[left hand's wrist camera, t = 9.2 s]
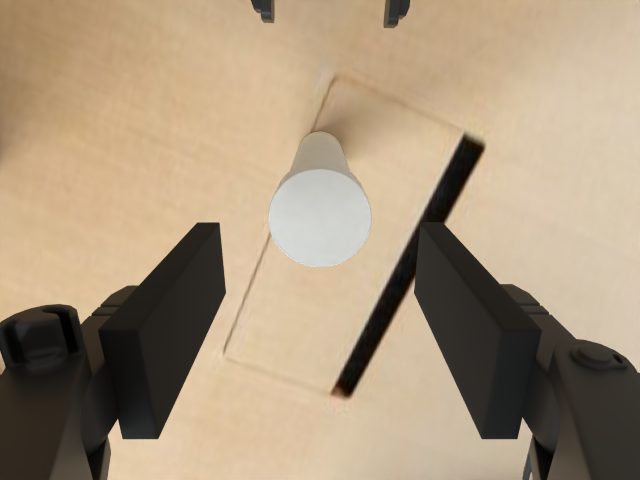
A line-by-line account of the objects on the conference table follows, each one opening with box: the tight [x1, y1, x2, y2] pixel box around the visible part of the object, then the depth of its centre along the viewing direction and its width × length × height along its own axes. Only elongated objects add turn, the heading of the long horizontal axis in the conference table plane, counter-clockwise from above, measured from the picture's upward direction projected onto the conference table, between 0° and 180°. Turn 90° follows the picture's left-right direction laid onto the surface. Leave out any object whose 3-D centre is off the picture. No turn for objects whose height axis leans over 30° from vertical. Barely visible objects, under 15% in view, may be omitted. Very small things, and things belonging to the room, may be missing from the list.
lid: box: [268, 161, 372, 267], centre depth 19 cm, size 5×5×2 cm
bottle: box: [290, 131, 350, 171], centre depth 28 cm, size 4×4×20 cm
